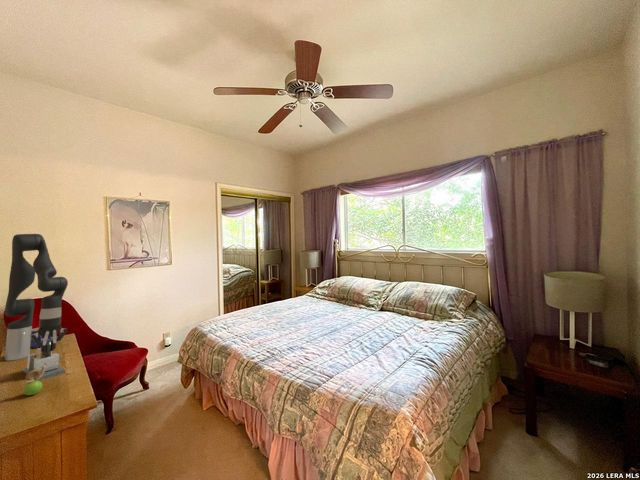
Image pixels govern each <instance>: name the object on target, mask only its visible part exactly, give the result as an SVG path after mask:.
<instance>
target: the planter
mask: <svg viewBox="0 0 640 480" xmlns="http://www.w3.org/2000/svg"><path fill="white" fill-rule="evenodd" d="M38 329H39V327H36V328H32V333H31V334H35V333H36V332H37V331H38ZM37 339H38V340H39V341H40V342H41V339H42V336H40V335H39V334H38V337H37ZM47 341H51V337H48V339H47ZM39 347H40V348H41V345H37V344H35V342H34V341H33V340H32V338H31V345H30V348H33V349H37V348H39Z"/></svg>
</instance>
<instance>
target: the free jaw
mask: <svg viewBox="0 0 640 480" xmlns="http://www.w3.org/2000/svg"><path fill="white" fill-rule="evenodd" d="M51 347H52V341H47V342H46V352H45V356H42V357H38V358H34V369H33V370H35V369H38V370H40V372H41V370H42V366H44V365H45V366H46V368H45V371H48V370H52V369H55V368H59V367H60V366H59V365H60V364H59V363H60V354H59V353H57V352H56V353H52V354H51ZM44 363H47V364H44ZM45 371H44V372H45Z"/></svg>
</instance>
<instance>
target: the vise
mask: <svg viewBox="0 0 640 480" xmlns="http://www.w3.org/2000/svg"><path fill="white" fill-rule="evenodd" d="M51 354H53V351H52V352H51ZM34 358H36V352H35V353H30V354H29V355H28V357H27V366H26V367H27V368H23V371H22V372H23V373H24V374H25V375H27V373H28V372H30V371H32V370H33V369H34ZM65 373H66V369H65V368H63V367H61V366H59V368H55V369H52V370H48V371H45V372H44V374H43V376H42V377H41V378H40V379H38V380H37V381H42V380H44V379H48V378H52V377H55V376H58V375H62V374H65Z"/></svg>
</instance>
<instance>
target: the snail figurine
mask: <svg viewBox="0 0 640 480" xmlns="http://www.w3.org/2000/svg"><path fill="white" fill-rule="evenodd" d="M44 364H47V363H44ZM45 368H46V366H45V365H44V366H42V370H41V372H40V370H38V369H35V370H32V371H30V372H28V373H27V374H25V380H26V381H25V383H26V385H25V386H24V388H23V390H22V391H23V394H24V395H26V396H33V395H36V394H38V393H39V392H40V391H41V390H42V388H43V382H41V380H39V381H37V380H38V379H40V378H41V377H42V376H43V374H44V371H45Z"/></svg>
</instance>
